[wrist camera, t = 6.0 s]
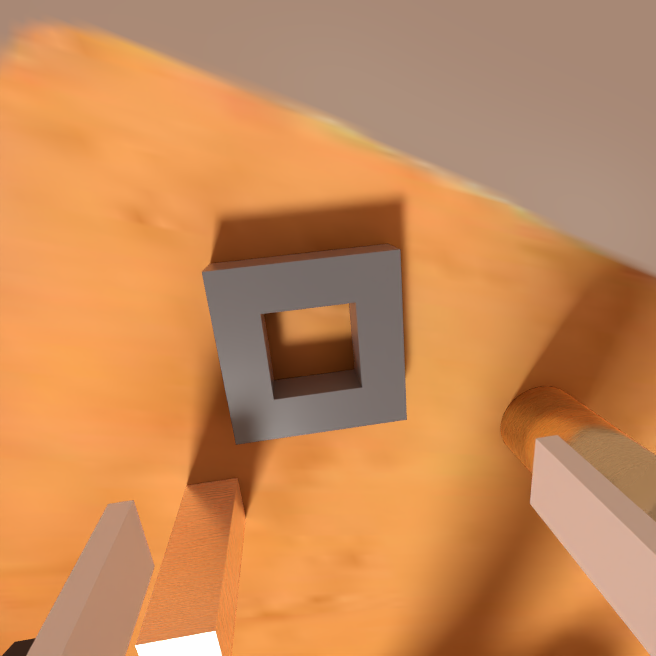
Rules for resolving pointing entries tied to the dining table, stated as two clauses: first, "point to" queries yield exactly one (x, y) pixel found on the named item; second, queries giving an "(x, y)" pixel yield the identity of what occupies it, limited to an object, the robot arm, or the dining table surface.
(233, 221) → the dining table surface
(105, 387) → the dining table surface
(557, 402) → the round bit
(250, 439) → the bore block
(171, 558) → the square bit
